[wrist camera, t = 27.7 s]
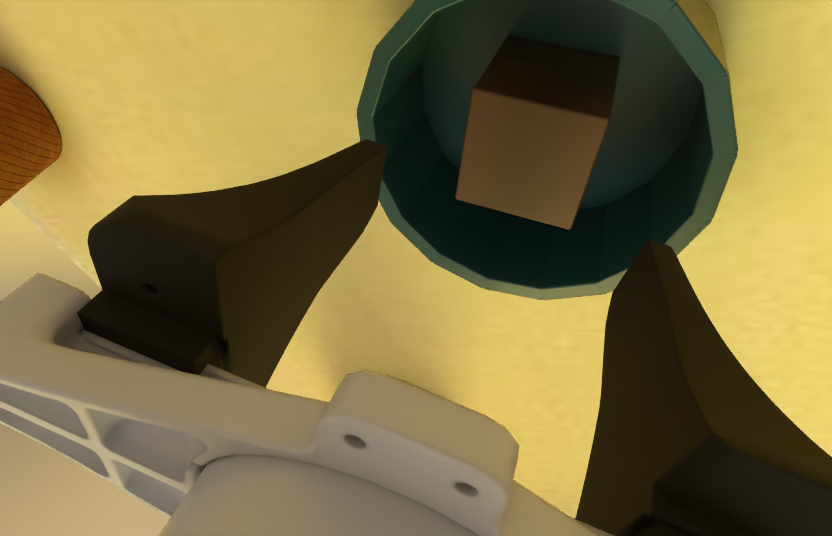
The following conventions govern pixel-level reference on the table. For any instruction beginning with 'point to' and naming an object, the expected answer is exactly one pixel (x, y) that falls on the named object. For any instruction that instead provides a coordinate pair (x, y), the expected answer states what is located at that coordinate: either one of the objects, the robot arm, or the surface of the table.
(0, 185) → the disposable coffee cup
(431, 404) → the robot arm
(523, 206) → the block
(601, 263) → the tin
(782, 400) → the table surface
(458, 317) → the table surface
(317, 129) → the table surface
